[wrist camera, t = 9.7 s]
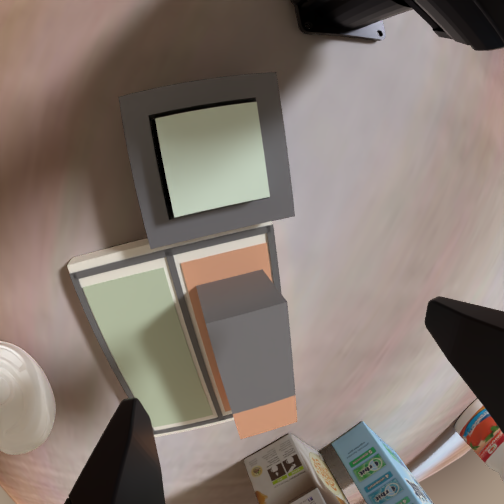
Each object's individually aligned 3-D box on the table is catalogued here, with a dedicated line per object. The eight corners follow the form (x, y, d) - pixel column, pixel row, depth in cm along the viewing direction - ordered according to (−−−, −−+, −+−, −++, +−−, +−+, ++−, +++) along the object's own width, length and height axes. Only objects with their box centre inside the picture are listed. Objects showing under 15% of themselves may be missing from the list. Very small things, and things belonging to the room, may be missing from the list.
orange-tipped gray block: (262, 269, 18) (287, 301, 15) (278, 384, 22) (297, 421, 19) (195, 285, 18) (205, 323, 14) (227, 398, 22) (240, 439, 18)
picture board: (264, 211, 19) (272, 216, 17) (287, 392, 25) (292, 403, 24) (72, 257, 16) (66, 266, 15) (153, 426, 22) (154, 438, 21)
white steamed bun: (69, 347, 18) (45, 432, 11) (61, 410, 20) (48, 484, 13) (-23, 307, 15) (-71, 373, 8) (-19, 377, 17) (-47, 442, 10)
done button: (242, 107, 15) (256, 101, 12) (254, 188, 16) (269, 196, 14) (156, 122, 14) (154, 118, 12) (172, 205, 16) (174, 217, 13)
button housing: (258, 82, 16) (276, 72, 13) (275, 203, 19) (294, 215, 16) (126, 104, 14) (118, 97, 12) (152, 231, 17) (150, 249, 14)
